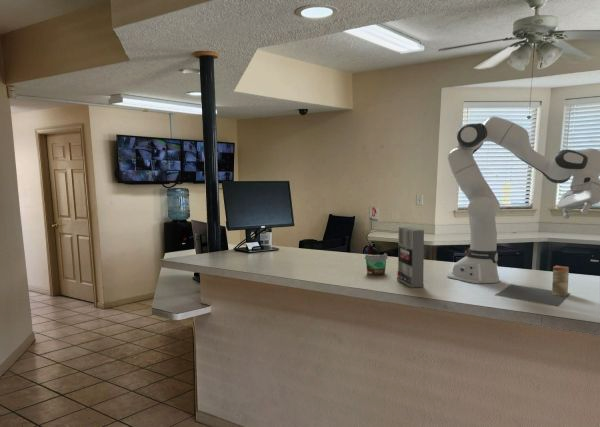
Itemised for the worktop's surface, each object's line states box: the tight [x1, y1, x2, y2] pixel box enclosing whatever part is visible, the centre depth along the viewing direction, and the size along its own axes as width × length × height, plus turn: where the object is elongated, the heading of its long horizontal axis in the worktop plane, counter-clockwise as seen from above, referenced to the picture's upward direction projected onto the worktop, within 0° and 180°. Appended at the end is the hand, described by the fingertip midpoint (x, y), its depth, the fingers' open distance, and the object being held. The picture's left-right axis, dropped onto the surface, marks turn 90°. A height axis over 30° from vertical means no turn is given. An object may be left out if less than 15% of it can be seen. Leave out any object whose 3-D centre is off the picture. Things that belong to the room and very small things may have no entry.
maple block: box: [551, 265, 570, 296], centre depth 163 cm, size 4×4×11 cm
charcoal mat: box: [494, 284, 571, 307], centre depth 163 cm, size 22×22×1 cm
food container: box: [364, 252, 389, 277], centre depth 202 cm, size 12×6×10 cm, turn 114°
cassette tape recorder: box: [396, 226, 425, 289], centre depth 183 cm, size 14×6×25 cm, turn 13°
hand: (574, 216), depth 164 cm, fingers open, 8 cm apart
